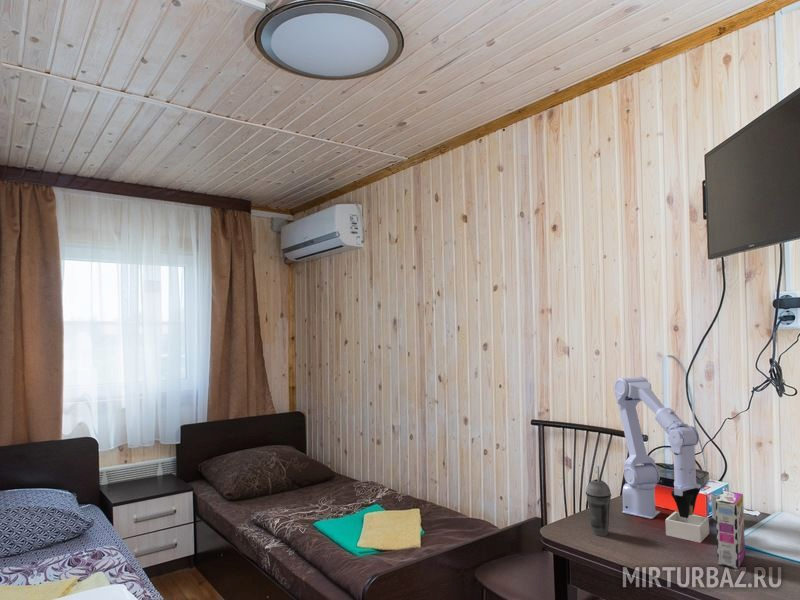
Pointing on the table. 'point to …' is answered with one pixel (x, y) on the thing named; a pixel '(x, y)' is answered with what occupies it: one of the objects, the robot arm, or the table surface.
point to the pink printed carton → (730, 529)
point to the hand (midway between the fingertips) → (686, 514)
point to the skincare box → (714, 505)
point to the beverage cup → (598, 505)
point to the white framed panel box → (687, 527)
